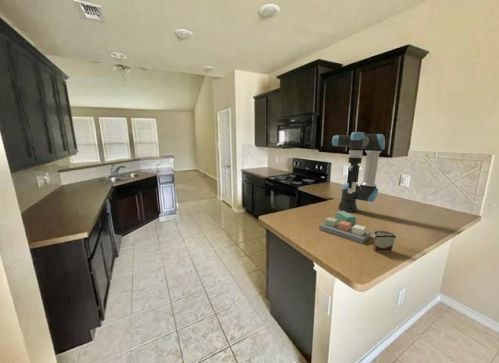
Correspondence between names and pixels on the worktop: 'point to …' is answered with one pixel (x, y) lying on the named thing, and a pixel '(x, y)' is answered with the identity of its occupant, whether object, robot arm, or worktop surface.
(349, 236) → the button board
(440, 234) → the worktop surface
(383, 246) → the food container
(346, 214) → the box
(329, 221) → the sage button
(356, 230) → the pale grey block
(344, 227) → the terracotta button
